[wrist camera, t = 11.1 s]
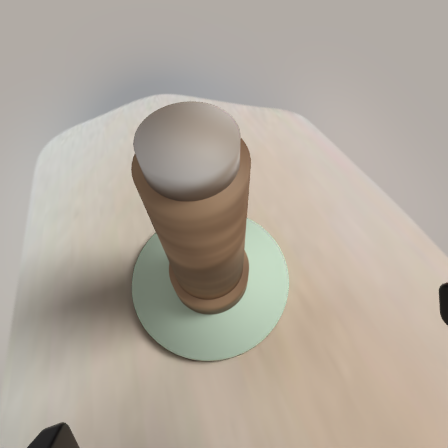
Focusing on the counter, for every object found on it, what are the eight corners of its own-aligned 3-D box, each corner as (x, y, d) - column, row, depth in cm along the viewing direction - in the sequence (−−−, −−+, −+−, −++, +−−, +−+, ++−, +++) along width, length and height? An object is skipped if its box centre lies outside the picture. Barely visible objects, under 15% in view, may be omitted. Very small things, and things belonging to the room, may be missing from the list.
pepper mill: (225, 329, 20) (216, 227, 9) (159, 292, 21) (75, 162, 10) (260, 263, 22) (289, 114, 11) (198, 233, 24) (166, 72, 12)
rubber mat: (243, 397, 19) (243, 397, 18) (101, 308, 21) (98, 306, 21) (311, 250, 23) (312, 247, 23) (187, 193, 26) (186, 190, 26)
